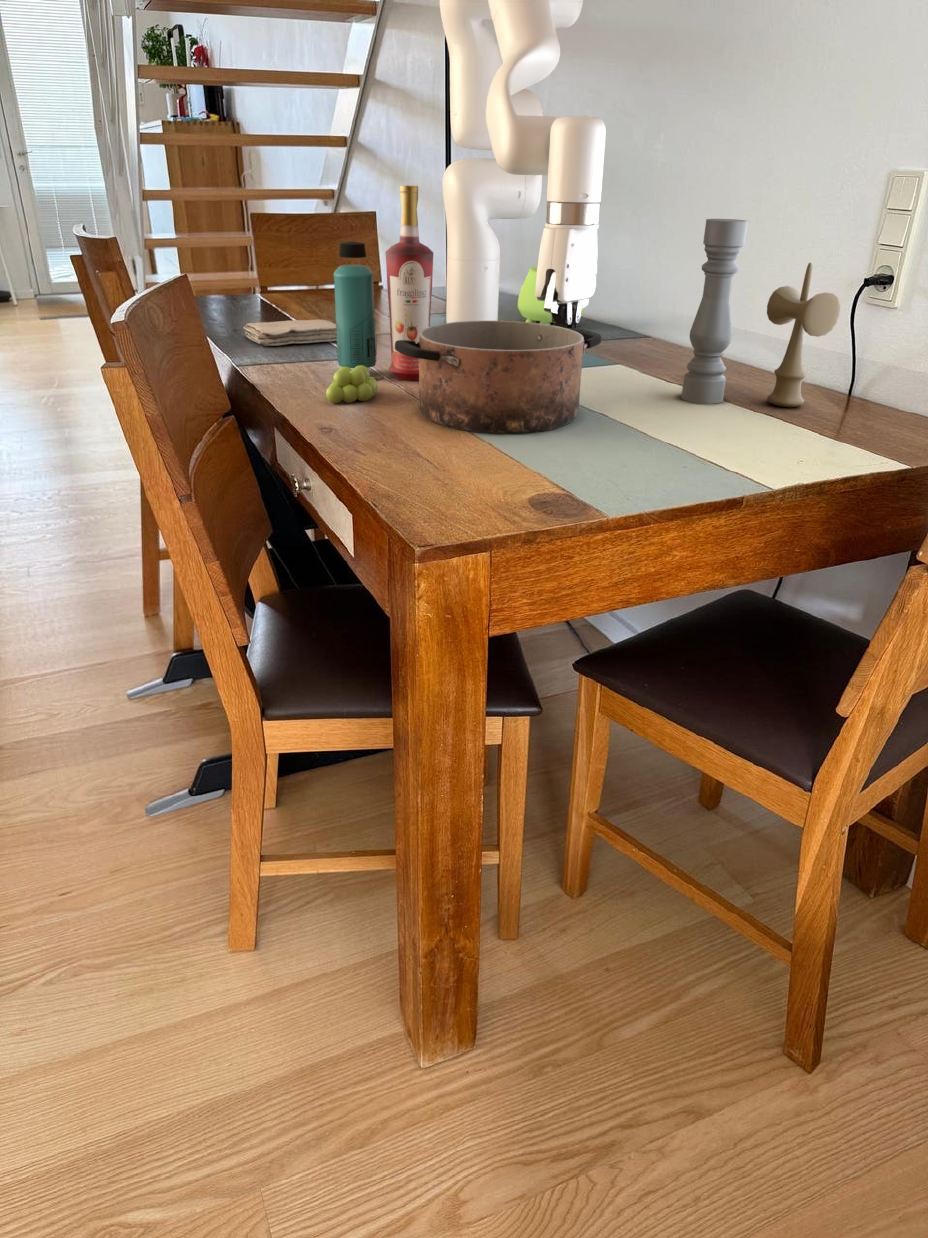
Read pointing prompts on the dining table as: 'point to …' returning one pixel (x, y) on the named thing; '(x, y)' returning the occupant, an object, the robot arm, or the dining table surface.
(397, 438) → the dining table surface
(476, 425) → the cooking pot
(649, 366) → the dining table surface
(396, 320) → the liquor
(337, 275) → the beverage bottle
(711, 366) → the candle holder
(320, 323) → the washcloth
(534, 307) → the teapot
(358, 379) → the grapes
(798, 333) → the kendama
